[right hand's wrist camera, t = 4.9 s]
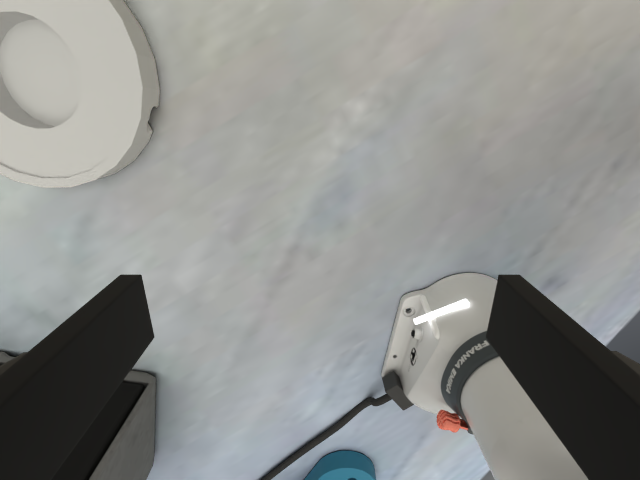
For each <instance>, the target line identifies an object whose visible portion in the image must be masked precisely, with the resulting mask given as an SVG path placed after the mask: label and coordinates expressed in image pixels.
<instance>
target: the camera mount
mask: <svg viewBox="0 0 640 480" xmlns="http://www.w3.org/2000/svg"><path fill="white" fill-rule="evenodd" d="M304 480H376V476H375V470H374V465H373V463H372V462H371V460H370V459H369V458H368V457H366V456H365V455H363V454H361V453H358V452H354V451H337V452H333V453H330V454H328V455H326V456H325V457H323V458H322V459H321V460H320V461H319V462H318V463H317V464H316V466H315V467H314V468H313V469H312V470H311V472H310V473H309V474H308V475H307V477H306V478H305V479H304Z"/></svg>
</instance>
